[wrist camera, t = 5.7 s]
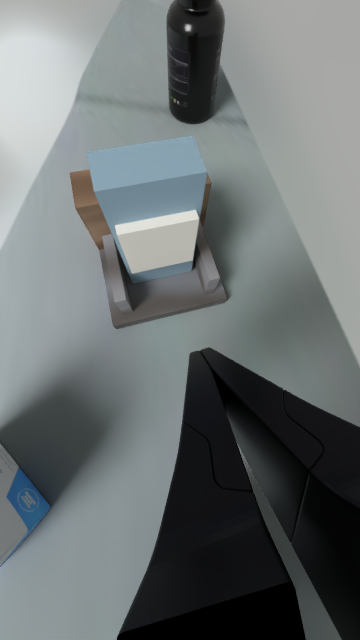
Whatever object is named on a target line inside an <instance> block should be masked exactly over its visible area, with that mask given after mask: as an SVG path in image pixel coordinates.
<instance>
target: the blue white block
mask: <svg viewBox="0 0 360 640" xmlns="http://www.w3.org/2000/svg"><path fill="white" fill-rule="evenodd" d="M86 153H87V158H88V163H89V168H90V173H91V179H92V184H93V189H94V193H95V195H96V198H97V200H98V202H99V205H100V207H101V209H102V212H103V214H104V217H105V219H106V221H107V224H108V226H109V228H110V231H111V233H112V236H113V238H114V240H115V243H116V245H117V247H118V250H119V252H120V254H121V257H122V259H123V262H124V264H125V266H126V269H127V271H128V273H129V276H130V278H131V280H132V283H133V284H136V283H140V282H145V281H149V280H154V279H158V278H162V277H167V276H171V275H176V274H180V273H185V272H189V271H191V270H192V264H193V258H194V252H195V245H196V239H197V233H198V227H199V221H200V214H201V208H202V202H203V196H204V190H205V183H206V177H207V170H206V167H205V165H204V162H203V160H202V157H201V155H200V152H199V150H198V147H197V145H196V142H195V140H194V137H193V136H187V137H181V138H174V139H168V140H161V141H155V142H148V143H142V144H135V145H129V146H123V147H116V148H110V149H103V150H97V151H90V152H86Z"/></svg>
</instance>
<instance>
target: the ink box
mask: <svg viewBox="0 0 360 640" xmlns="http://www.w3.org/2000/svg"><path fill="white" fill-rule="evenodd" d="M49 509H50V505H49V504H48V503H47V502H46V500H45V499H44V498H43V496H42V495H41V494H40V493H39V492H38V490H37V489H36V488H35V486H34V485H33V484H32V483H31V481H30V480H29V479H28V478H27V476H26V475H25V474H24V473H23V471H22V470H21V469H20V468H19V466H18V465H17V464H16V462H15V461H14V460H13V459H12V457H11V456H10V455H9V453H8V452H7V451H6V450H5V448H4V447H3V446H2V445H1V443H0V567H1V566H2V565H3V564H4V563H5V561H6V560H7V559H8V558H9V557H10V556H11V555H12V553H13V552H14V551H15V550H16V549H17V548H18V546H19V545H20V544H21V543H22V542H23V541H24V540H25V538H26V537H27V536H28V535H29V534H30V533H31V531H32V530H33V529H34V528H35V527H36V525H37V524H38V523H39V522H40V521H41V519H42V518H43V517H44V516H45V514H46V513H47V512H48V511H49Z"/></svg>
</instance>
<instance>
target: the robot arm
mask: <svg viewBox="0 0 360 640" xmlns="http://www.w3.org/2000/svg"><path fill="white" fill-rule="evenodd" d="M235 439H236V440H235ZM236 441H237V443H238V445H239V447H240V449H241V450H242V452H243V454H244V456H245V458H246V460H247V462H248V464H249V465H250V467H251V469H252V471H253V473H254V475H255V477H256V479H257V481H258V482H259V484H260V486H261V488H262V490H263V492H264V494H265V496H266V497H267V499H268V501H269V503H270V505H271V507H272V509H273V511H274V512H275V514H276V516H277V518H278V520H279V522H280V524H281V526H282V528H283V529H284V531H285V533H286V535H287V537H288V539H289V541H290V542H291V543H292V547H293V548H294V550H295V552H296V554H297V556H298V558H299V560H300V562H301V563H302V565H303V567H304V569H305V571H306V573H307V575H308V577H309V578H310V580H311V582H312V584H313V586H314V588H315V590H316V592H317V594H318V595H319V597H320V599H321V601H322V603H323V605H324V607H325V609H326V610H327V612H328V614H329V616H330V618H331V620H332V622H333V624H334V625H335V627H336V629H337V631H338V633H339V635H340V637H341V639H342V640H360V427H358V426H356V425H354V424H352V423H349V422H347V421H345V420H343V419H341V418H339V417H336V416H334V415H332V414H330V413H328V412H326V411H324V410H322V409H320V408H318V407H316V406H314V405H312V404H310V403H308V402H306V401H304V400H302V399H301V398H299V397H297V396H295V395H293V394H291V393H290V392H288V391H286V390H283V389H282V388H281V387H279V386H277V385H275V384H274V383H272V382H270V381H268V380H266V379H265V378H263V377H261V376H259V375H258V374H256V373H254V372H252V371H251V370H249V369H247V368H245V367H243V366H242V365H240V364H238V363H236V362H235V361H233V360H231V359H229V358H228V357H226V356H224V355H222V354H220V353H219V352H217V351H215V350H213V349H212V348H205V349H202V350H200V351H195V352H192V353H190V357H189V366H188V375H187V384H186V393H185V401H184V410H183V419H182V427H181V435H180V442H179V449H178V454H177V459H176V464H175V469H174V473H173V477H172V481H171V485H170V490H169V494H168V498H167V502H166V506H165V510H164V514H163V518H162V522H161V526H160V530H159V534H158V538H157V541H156V544H155V548H154V551H153V554H152V557H151V560H150V563H149V565H148V568H147V571H146V573H145V575H144V578H143V580H142V582H141V584H140V587H139V589H138V591H137V594H136V596H135V598H134V600H133V603H132V605H131V607H130V609H129V612H128V614H127V616H126V618H125V621H124V623H123V625H122V627H121V630H120V632H119V634H118V637H117V640H306V639H305V634H304V629H303V624H302V619H301V614H300V609H299V604H298V600H297V595H296V590H295V587H294V585H293V582H292V580H291V578H290V576H289V574H288V572H287V570H286V567H285V565H284V563H283V561H282V559H281V557H280V554H279V552H278V550H277V548H276V546H275V544H274V542H273V539H272V537H271V535H270V533H269V531H268V529H267V526H266V524H265V522H264V519H263V516H262V514H261V511H260V509H259V506H258V503H257V501H256V498H255V495H254V493H253V489H252V486H251V483H250V480H249V477H248V474H247V472H246V469H245V466H244V463H243V460H242V457H241V454H240V451H239V448H238V445H237V443H236Z"/></svg>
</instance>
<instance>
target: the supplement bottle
mask: <svg viewBox="0 0 360 640" xmlns="http://www.w3.org/2000/svg"><path fill="white" fill-rule="evenodd" d="M224 25H225V16H224V12H223V9H222V6H221V4H220V3H219V1H218V0H174V1H173V2H172V4H171V5H170V7H169V10H168V14H167V57H168V90H169V108H170V111H171V113H172V115H173V116H174V117H175V118H176V119H177V120H179V121H181V122H184V123H199V122H202V121H204V120H206V119H207V118H208V117H209V116H210V115H211V113H212V111H213V107H214V101H215V94H216V86H217V79H218V71H219V64H220V56H221V48H222V41H223V33H224Z"/></svg>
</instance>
